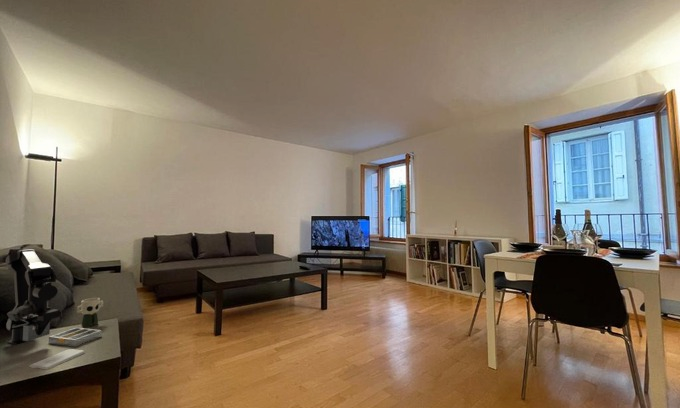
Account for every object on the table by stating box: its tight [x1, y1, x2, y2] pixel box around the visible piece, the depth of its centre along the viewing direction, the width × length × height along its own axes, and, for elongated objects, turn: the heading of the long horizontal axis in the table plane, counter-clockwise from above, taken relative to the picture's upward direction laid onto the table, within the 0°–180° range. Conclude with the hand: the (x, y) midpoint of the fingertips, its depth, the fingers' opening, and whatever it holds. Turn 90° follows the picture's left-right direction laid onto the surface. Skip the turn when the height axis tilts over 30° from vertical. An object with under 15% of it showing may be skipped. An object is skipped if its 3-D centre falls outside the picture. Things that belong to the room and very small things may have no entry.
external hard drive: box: [29, 348, 85, 370], centre depth 107 cm, size 2×8×12 cm
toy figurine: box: [76, 297, 104, 328], centre depth 141 cm, size 11×7×13 cm, turn 156°
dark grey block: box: [23, 321, 51, 342], centre depth 116 cm, size 3×7×6 cm, turn 167°
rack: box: [48, 327, 102, 348], centre depth 124 cm, size 15×11×3 cm
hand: (36, 334), depth 116 cm, fingers closed on dark grey block, 3 cm apart
